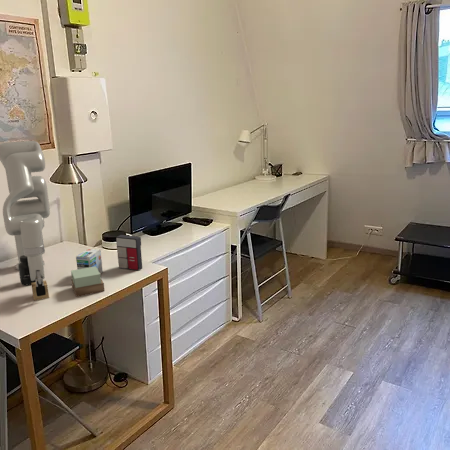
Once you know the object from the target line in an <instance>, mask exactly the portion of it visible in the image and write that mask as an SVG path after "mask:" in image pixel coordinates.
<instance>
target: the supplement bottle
mask: <svg viewBox="0 0 450 450" xmlns="http://www.w3.org/2000/svg"><path fill="white" fill-rule="evenodd" d="M18 263H19V262H18ZM18 268H19V270H18V275H19V282H20V285H22V286H32V285H31V283H34V281H31V278H30V273H29V266H28V258H27V256H24V255H23V256H20V263H19V265H18Z"/></svg>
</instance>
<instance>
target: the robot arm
mask: <svg viewBox="0 0 450 450" xmlns="http://www.w3.org/2000/svg"><path fill="white" fill-rule="evenodd" d="M0 163H1V164H2V166H3V168H4V169H5V170H4V171H5V175H6V181H7V188H8V192H9V194H8V195H7V196H6V198H5V201H4V202H3V205H2V217H3V222H4V228H5V231H6V233H7V234H8V235H9V236H14V242H15V249H16V253H17V261H18V263H16V265H15V269H16V270H17V271H19V268H18V265H19V263H20V256H23V255H24V256H27V258H28V266H29V273H30V278H31V281H34V282H36V293H37V296H43V295H46V292H45V285H44V282H43V281H44V280H45V268H44V266H45V261H44V260H43V255H44V254H45V253H46V250H45V249H46V248H45V243H44V234H43V229H44V227H45V219H48V218H49V216H50V214H51V210H50V209H51V207H50V201H49V193H48V185H47V182H46V180H45V178H44V177H43V176H41V175H32V173H41V172H43V171H45V169H46V160H45V155H44V153H43V149H42V148H41V145H40V143H39V141H35V140H29V141H28V140H26V141H8V142H1V143H0ZM29 198H32V199H29ZM21 199H22V200H21Z"/></svg>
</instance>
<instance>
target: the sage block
mask: <svg viewBox="0 0 450 450" xmlns="http://www.w3.org/2000/svg"><path fill="white" fill-rule="evenodd" d="M70 272H71V273H70V274H71V279H72V281H73V283H74V285H75V288H79V287H84V286H90V285H95V284H100V283H101V280H102V278H101V274H100V273H99V271H98V269H97V268H96V266H95V267H89V268H83V269H74V270H73V269H72V270H70ZM72 281H71V282H72Z"/></svg>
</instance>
